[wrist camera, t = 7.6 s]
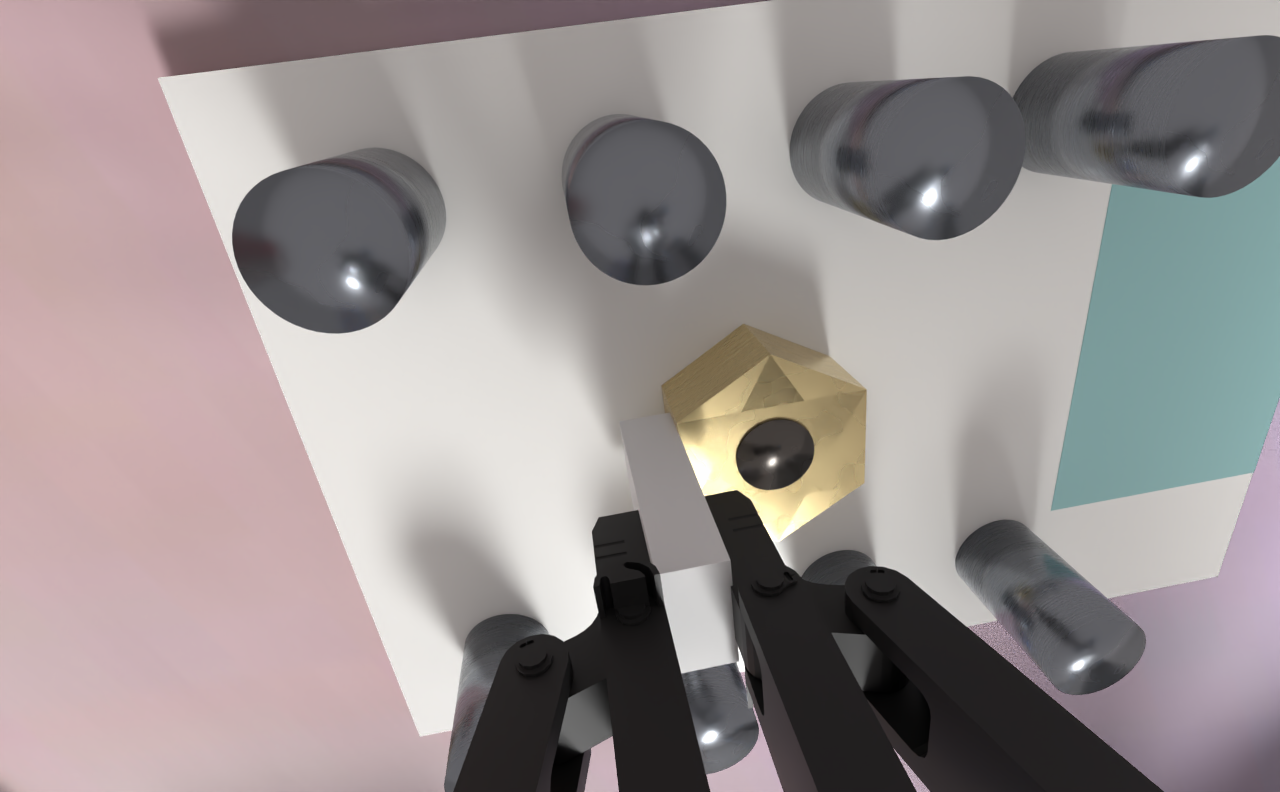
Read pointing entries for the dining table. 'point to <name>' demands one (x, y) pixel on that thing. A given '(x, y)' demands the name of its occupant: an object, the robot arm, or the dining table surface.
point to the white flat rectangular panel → (756, 312)
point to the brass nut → (771, 426)
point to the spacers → (842, 177)
